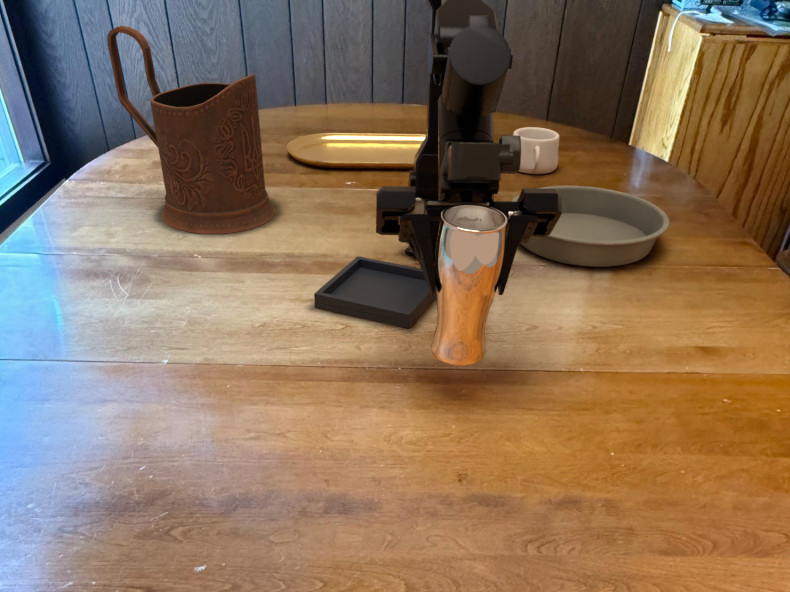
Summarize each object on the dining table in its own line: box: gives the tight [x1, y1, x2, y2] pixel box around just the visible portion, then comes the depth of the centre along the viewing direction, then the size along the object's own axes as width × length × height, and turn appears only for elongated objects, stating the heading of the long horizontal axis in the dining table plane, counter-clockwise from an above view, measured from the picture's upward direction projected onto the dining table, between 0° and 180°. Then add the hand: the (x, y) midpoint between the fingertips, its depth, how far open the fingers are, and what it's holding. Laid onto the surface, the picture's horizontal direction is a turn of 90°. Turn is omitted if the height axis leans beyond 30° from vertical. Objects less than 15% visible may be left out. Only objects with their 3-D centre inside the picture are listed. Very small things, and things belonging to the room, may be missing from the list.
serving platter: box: [286, 132, 426, 170], centre depth 151 cm, size 19×35×2 cm, turn 93°
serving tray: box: [313, 255, 436, 329], centre depth 105 cm, size 14×14×2 cm
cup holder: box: [106, 25, 276, 235], centre depth 120 cm, size 18×24×25 cm
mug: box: [512, 126, 560, 175], centre depth 147 cm, size 12×10×6 cm
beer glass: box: [430, 204, 508, 367], centre depth 81 cm, size 7×7×15 cm
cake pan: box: [511, 185, 670, 268], centre depth 122 cm, size 25×25×4 cm
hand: (467, 293), depth 80 cm, fingers closed on beer glass, 7 cm apart
